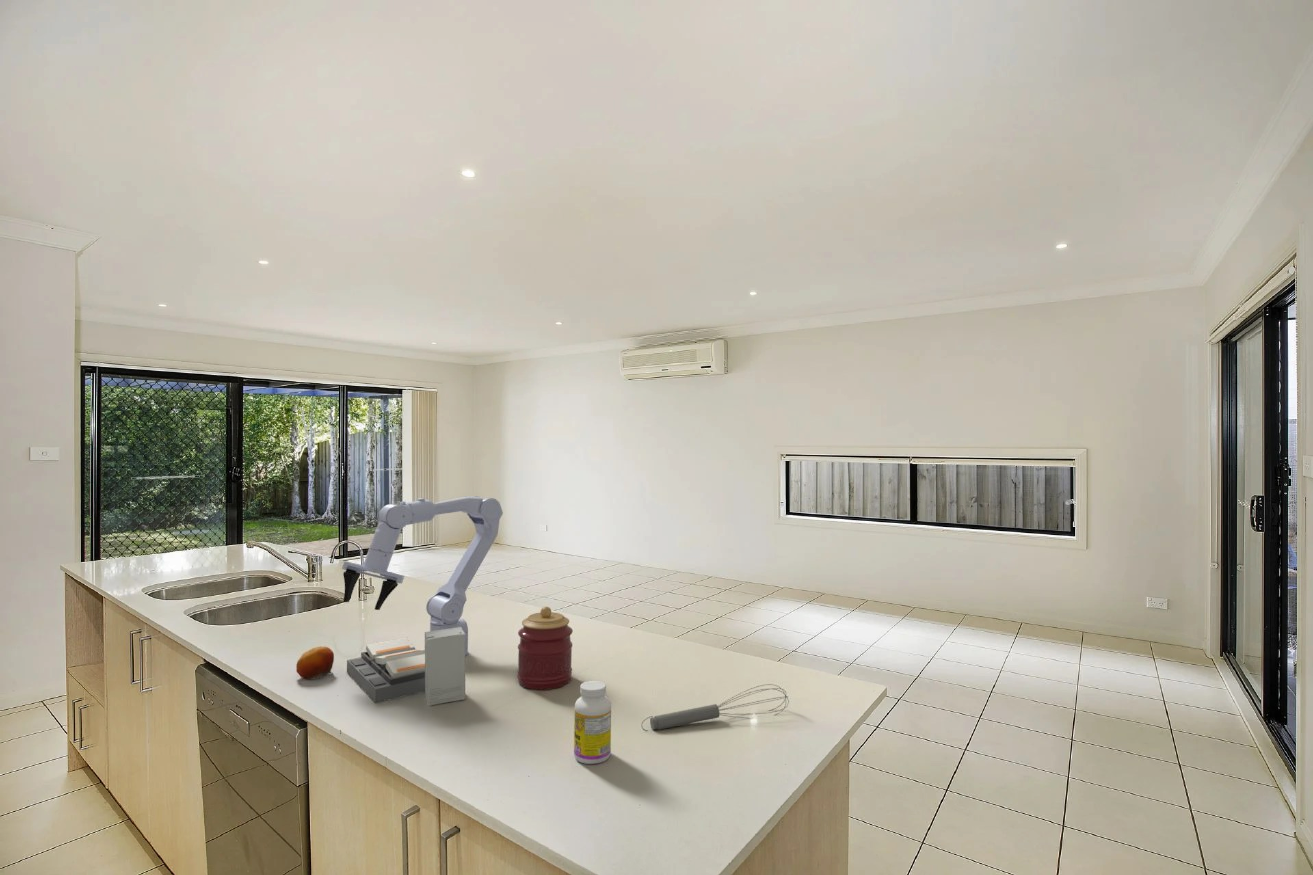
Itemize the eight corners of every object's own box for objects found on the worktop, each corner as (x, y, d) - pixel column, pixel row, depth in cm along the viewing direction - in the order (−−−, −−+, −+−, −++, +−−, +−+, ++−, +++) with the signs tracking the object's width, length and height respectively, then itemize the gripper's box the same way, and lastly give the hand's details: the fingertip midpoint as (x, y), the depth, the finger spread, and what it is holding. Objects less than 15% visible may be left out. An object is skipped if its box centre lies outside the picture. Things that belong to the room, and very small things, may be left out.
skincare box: (461, 691, 141) (463, 625, 141) (465, 700, 136) (467, 632, 136) (422, 697, 137) (424, 629, 138) (425, 707, 132) (427, 637, 132)
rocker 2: (429, 658, 148) (429, 652, 148) (437, 669, 144) (438, 663, 144) (385, 667, 142) (386, 660, 141) (392, 679, 137) (393, 672, 137)
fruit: (324, 677, 144) (310, 646, 145) (299, 692, 146) (285, 662, 147) (348, 666, 152) (334, 637, 153) (324, 680, 153) (310, 651, 154)
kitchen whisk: (637, 725, 125) (637, 695, 125) (779, 707, 135) (780, 679, 135) (645, 738, 119) (646, 706, 119) (794, 718, 130) (794, 689, 130)
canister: (582, 676, 151) (583, 604, 152) (551, 694, 140) (553, 616, 140) (538, 667, 157) (539, 598, 157) (505, 684, 145) (507, 609, 145)
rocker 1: (406, 642, 160) (407, 636, 160) (414, 652, 156) (414, 646, 156) (365, 649, 154) (366, 643, 154) (372, 660, 150) (372, 654, 149)
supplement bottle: (574, 748, 114) (575, 678, 115) (610, 747, 115) (611, 677, 115) (572, 766, 108) (574, 692, 108) (610, 765, 108) (611, 691, 109)
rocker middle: (417, 654, 154) (417, 648, 154) (425, 655, 150) (425, 649, 150) (375, 663, 148) (375, 656, 148) (382, 664, 143) (382, 657, 144)
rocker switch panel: (403, 655, 165) (404, 639, 165) (443, 686, 143) (443, 668, 143) (342, 667, 155) (343, 650, 155) (375, 702, 134) (375, 683, 134)
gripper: (346, 542, 150) (325, 598, 147) (405, 557, 151) (386, 613, 148) (356, 544, 157) (336, 598, 153) (412, 558, 158) (394, 612, 154)
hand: (361, 605), depth 151 cm, fingers open, 7 cm apart
